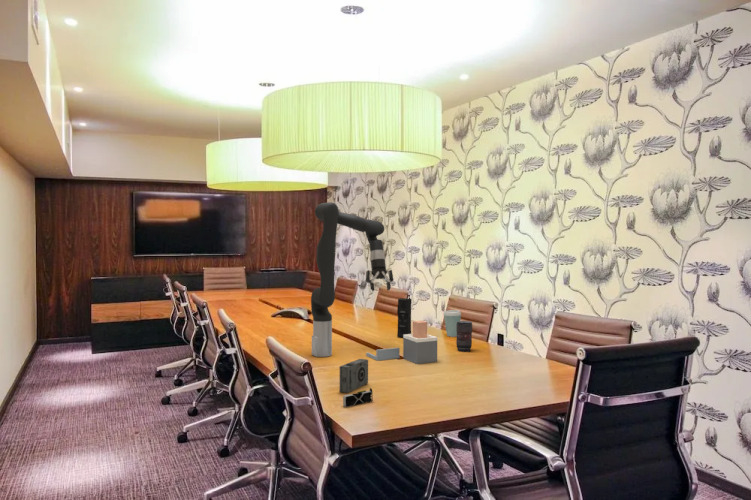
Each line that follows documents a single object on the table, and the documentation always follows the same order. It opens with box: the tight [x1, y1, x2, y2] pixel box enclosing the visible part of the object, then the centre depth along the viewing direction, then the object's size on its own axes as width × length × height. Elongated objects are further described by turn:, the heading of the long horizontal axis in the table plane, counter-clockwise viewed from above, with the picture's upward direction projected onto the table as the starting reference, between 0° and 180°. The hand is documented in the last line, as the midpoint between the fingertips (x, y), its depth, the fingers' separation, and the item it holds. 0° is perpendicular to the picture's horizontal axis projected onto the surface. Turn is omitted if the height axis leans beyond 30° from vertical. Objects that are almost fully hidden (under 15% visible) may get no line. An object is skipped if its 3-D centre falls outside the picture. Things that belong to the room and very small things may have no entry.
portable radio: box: [396, 294, 413, 339], centre depth 314 cm, size 8×6×25 cm
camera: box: [339, 358, 369, 394], centre depth 207 cm, size 16×4×10 cm, turn 151°
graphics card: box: [342, 387, 374, 408], centre depth 188 cm, size 12×3×5 cm, turn 126°
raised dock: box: [402, 333, 438, 365], centre depth 255 cm, size 11×13×12 cm
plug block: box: [412, 320, 428, 339], centre depth 255 cm, size 5×5×8 cm
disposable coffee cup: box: [443, 309, 462, 338], centre depth 319 cm, size 11×11×15 cm
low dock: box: [365, 347, 401, 362], centre depth 262 cm, size 12×12×5 cm
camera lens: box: [455, 320, 473, 353], centre depth 277 cm, size 8×8×15 cm
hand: (380, 290), depth 276 cm, fingers open, 8 cm apart
